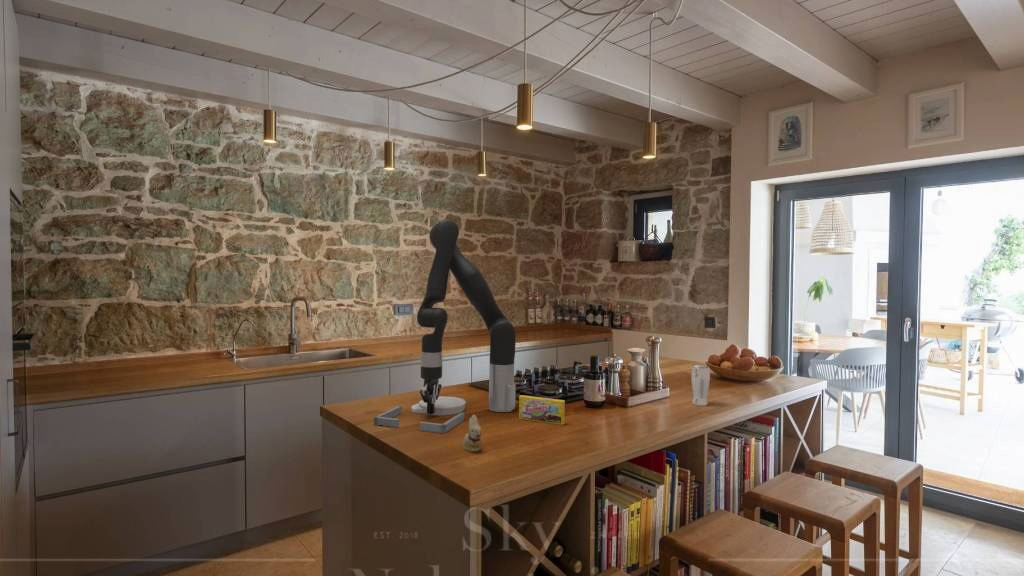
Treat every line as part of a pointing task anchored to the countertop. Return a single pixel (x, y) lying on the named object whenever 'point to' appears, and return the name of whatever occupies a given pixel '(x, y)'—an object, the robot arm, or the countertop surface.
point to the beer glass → (700, 384)
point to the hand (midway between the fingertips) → (430, 413)
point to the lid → (442, 406)
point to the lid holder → (388, 420)
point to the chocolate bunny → (473, 436)
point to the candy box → (542, 409)
